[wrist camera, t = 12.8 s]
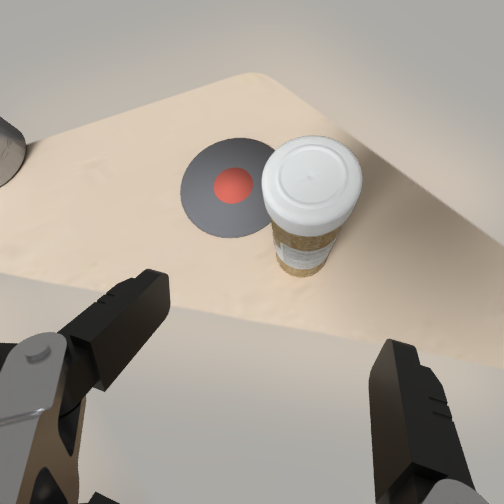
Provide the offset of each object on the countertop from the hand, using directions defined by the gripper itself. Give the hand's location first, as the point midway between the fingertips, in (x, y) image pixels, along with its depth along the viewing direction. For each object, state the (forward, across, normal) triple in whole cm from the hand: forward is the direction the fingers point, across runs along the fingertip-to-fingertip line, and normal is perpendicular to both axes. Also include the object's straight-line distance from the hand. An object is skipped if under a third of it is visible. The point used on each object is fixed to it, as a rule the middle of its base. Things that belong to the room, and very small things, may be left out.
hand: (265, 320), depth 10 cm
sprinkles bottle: (+15, 0, +6) cm, 16 cm away
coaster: (+18, +8, +2) cm, 20 cm away
